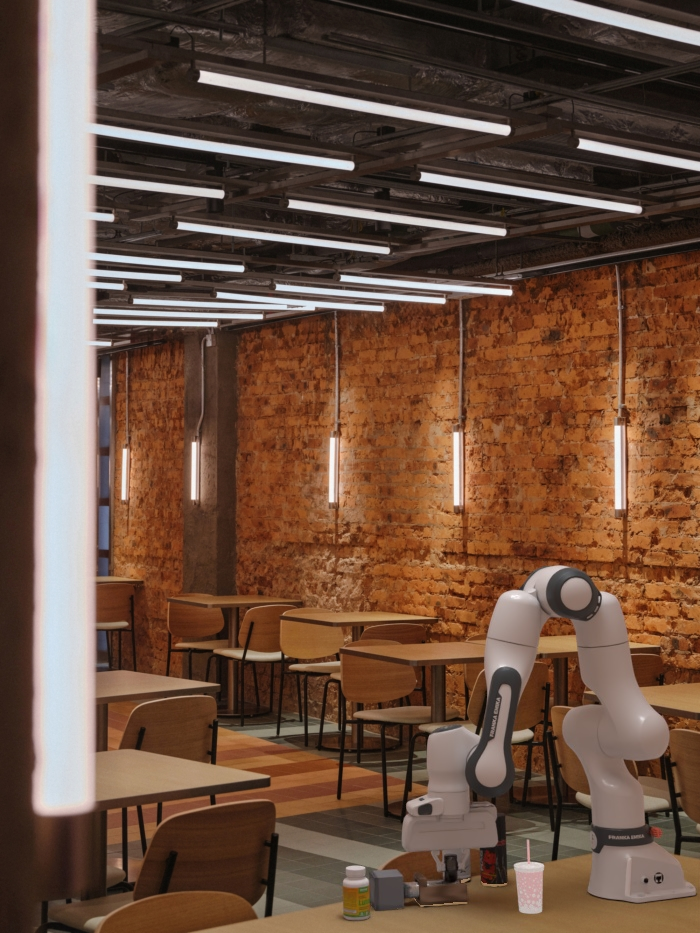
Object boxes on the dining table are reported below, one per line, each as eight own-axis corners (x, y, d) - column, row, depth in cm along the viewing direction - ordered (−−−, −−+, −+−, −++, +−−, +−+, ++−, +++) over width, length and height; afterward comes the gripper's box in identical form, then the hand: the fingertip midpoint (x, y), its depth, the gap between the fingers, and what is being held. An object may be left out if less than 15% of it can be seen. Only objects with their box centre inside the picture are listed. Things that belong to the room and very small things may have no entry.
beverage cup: (550, 913, 242) (547, 841, 244) (520, 915, 241) (518, 843, 243) (540, 905, 248) (537, 835, 250) (511, 907, 247) (509, 837, 249)
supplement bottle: (361, 922, 239) (360, 871, 240) (338, 918, 242) (337, 869, 243) (375, 915, 244) (373, 866, 245) (352, 912, 247) (351, 863, 248)
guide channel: (460, 896, 257) (459, 869, 257) (467, 904, 251) (466, 876, 251) (414, 899, 255) (413, 872, 256) (420, 907, 249) (419, 879, 250)
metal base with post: (456, 893, 255) (455, 853, 256) (460, 897, 252) (459, 856, 253) (391, 897, 253) (390, 857, 254) (394, 901, 250) (393, 860, 251)
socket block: (397, 900, 255) (397, 869, 255) (404, 908, 248) (403, 876, 249) (369, 902, 254) (369, 871, 254) (375, 910, 247) (374, 878, 248)
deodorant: (513, 884, 266) (510, 814, 268) (492, 888, 263) (490, 818, 264) (495, 879, 271) (493, 810, 273) (475, 883, 268) (472, 814, 269)
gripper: (492, 798, 260) (494, 864, 259) (399, 803, 257) (400, 870, 255) (500, 803, 254) (502, 871, 252) (405, 808, 250) (407, 877, 249)
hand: (450, 870), depth 254 cm, fingers closed on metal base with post, 3 cm apart
